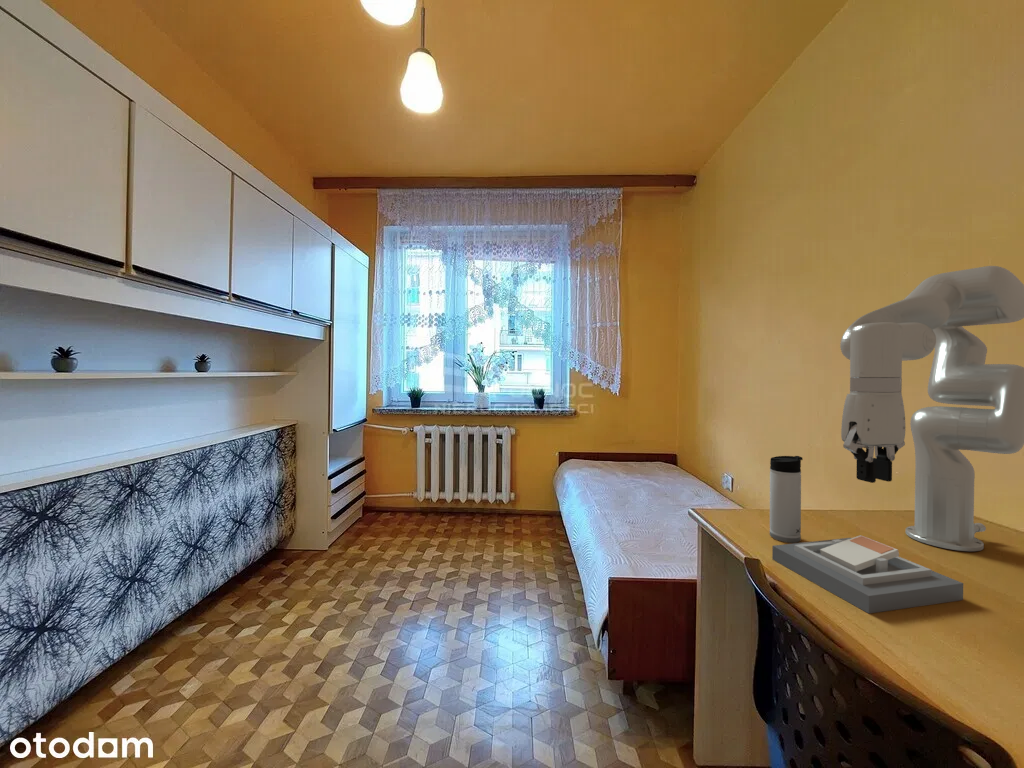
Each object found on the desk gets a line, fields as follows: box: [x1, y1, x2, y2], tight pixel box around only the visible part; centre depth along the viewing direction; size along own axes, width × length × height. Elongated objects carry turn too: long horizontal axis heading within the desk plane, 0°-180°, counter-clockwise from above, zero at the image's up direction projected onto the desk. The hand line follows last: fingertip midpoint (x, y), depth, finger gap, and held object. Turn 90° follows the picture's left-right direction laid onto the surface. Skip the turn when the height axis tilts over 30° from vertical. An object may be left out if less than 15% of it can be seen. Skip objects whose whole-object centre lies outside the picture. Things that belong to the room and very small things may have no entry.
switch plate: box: [771, 537, 964, 614], centre depth 79 cm, size 20×20×6 cm
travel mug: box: [769, 455, 803, 544], centre depth 98 cm, size 6×7×20 cm
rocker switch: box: [820, 534, 900, 572], centre depth 79 cm, size 10×7×1 cm
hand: (873, 479), depth 79 cm, fingers open, 3 cm apart
